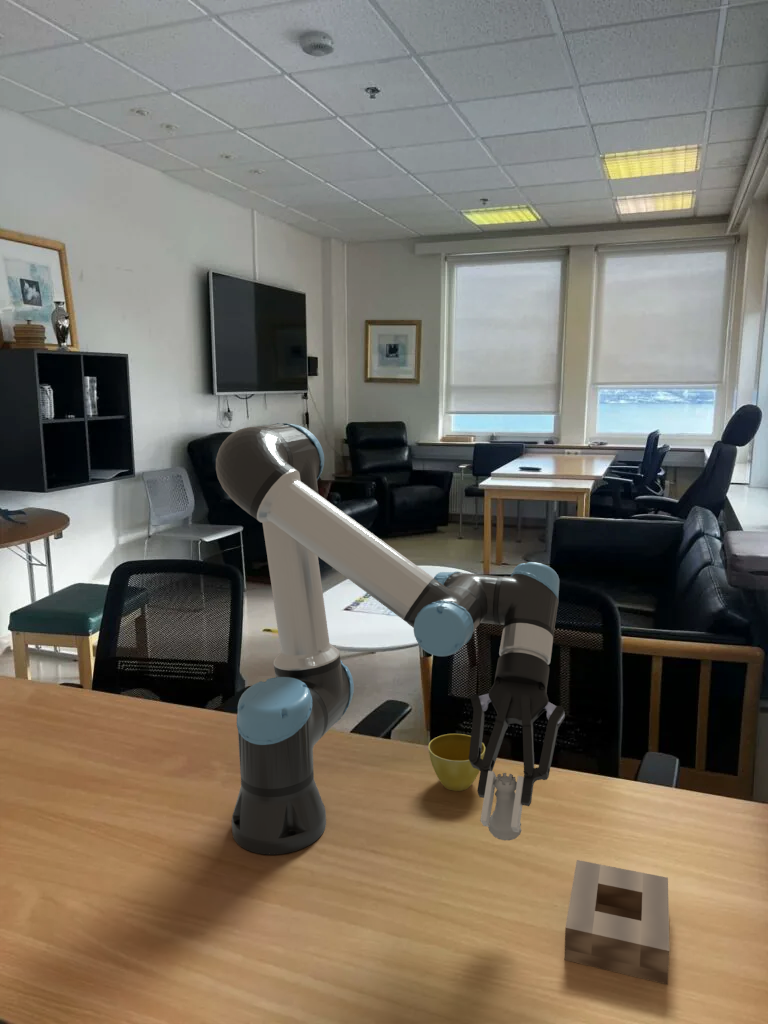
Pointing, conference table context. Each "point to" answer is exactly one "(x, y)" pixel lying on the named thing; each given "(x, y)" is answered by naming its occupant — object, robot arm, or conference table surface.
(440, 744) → the flower pot
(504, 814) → the rook chess piece
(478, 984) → the conference table surface
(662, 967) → the socket block
